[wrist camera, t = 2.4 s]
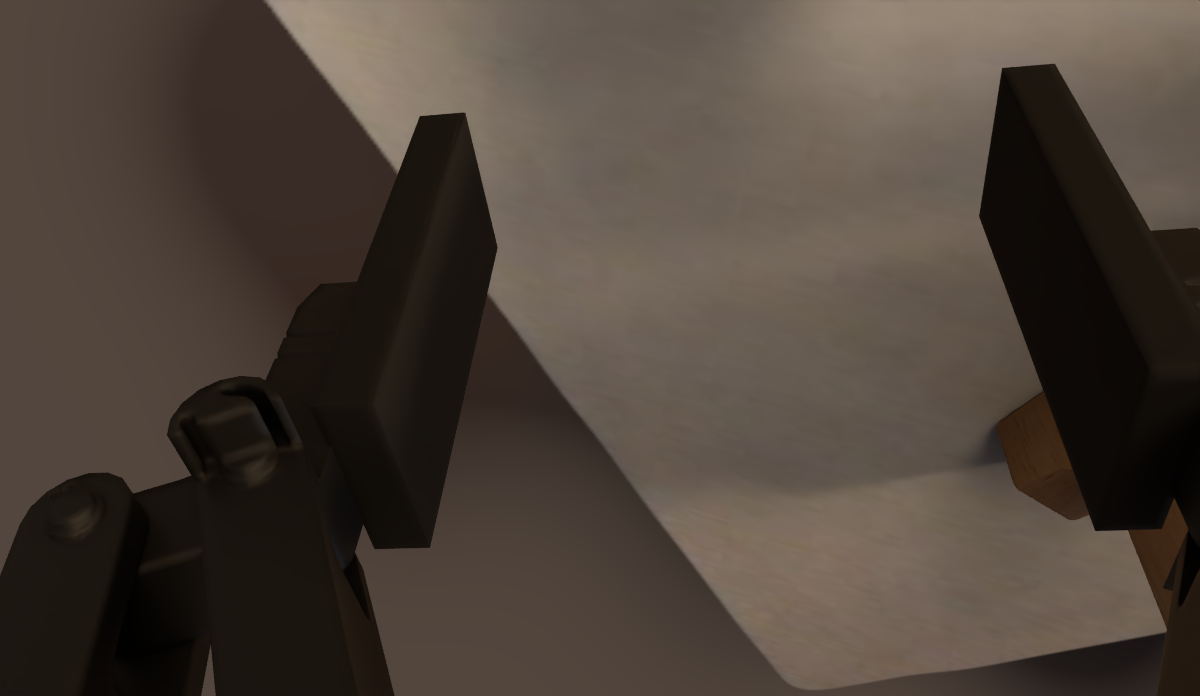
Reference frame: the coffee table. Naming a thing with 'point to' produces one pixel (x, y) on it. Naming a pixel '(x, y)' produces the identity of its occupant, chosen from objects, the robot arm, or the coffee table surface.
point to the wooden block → (1053, 484)
